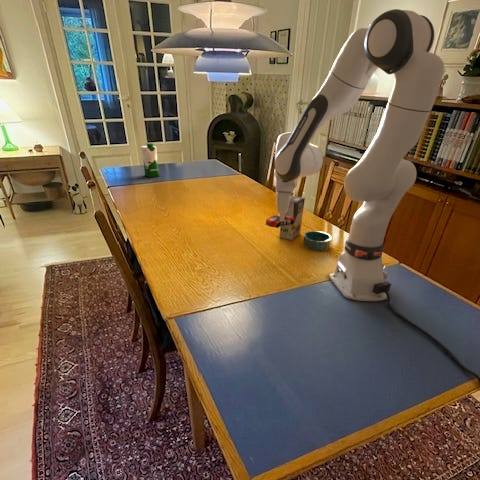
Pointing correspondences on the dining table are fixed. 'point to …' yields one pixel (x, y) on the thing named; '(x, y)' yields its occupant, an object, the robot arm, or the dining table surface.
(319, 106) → the robot arm
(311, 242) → the teal bowl
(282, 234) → the coffee box
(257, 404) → the dining table surface
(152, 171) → the milk carton
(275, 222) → the race car
